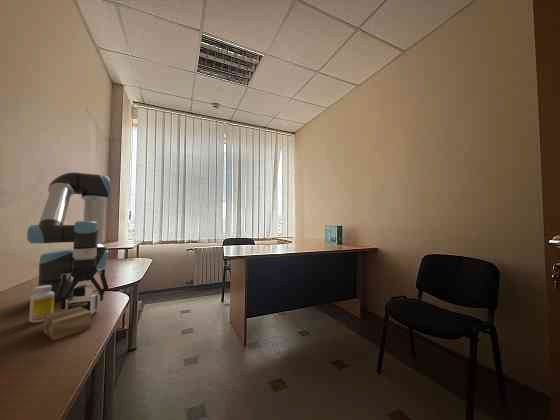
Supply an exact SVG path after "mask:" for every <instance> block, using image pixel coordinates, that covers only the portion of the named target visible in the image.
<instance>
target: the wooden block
mask: <svg viewBox="0 0 560 420" xmlns="http://www.w3.org/2000/svg"><path fill="white" fill-rule="evenodd" d="M91 326H92V315H91V312H90V311H88V310H87V309H85V308H83V307H81V306H79V307H75V308H71V309H68V310H64V309H63V310H60V311H57V312H54V313H52V314H48V315H44V321H43V333H44V334H45V335H46V336H48V337H49V338H50V339H51V340H52V341H55V340H58V339H61V338H64V337H68V336H70V335H73V334H74V335H75V334H77V333H80V332H82V331H86V330H88V329H91V328H92V327H91Z"/></svg>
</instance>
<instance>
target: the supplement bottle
mask: <svg viewBox="0 0 560 420" xmlns="http://www.w3.org/2000/svg"><path fill="white" fill-rule="evenodd" d="M37 286H38V285H37ZM37 286H36V287H34V289H33V291H34V292H35V294H34V293H33V294H32V295H31V296H30V297H29V299H30V300H29V318H28V322H29V323H33V324H34V323H43V322H44V315H48V314H52V313H55V310H54V309H55V301H54V292H52V291H50V290H51V285H43V286H38V287H37Z"/></svg>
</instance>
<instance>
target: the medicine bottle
mask: <svg viewBox="0 0 560 420" xmlns="http://www.w3.org/2000/svg"><path fill="white" fill-rule="evenodd" d="M93 292H94V285H91V284H83V285H79V286H75V287H74V294H73V296H72V299H71V300H69V301H68V309H71V308H75V307H79V306H81V307H83V308H85V309H87V310H88V311H90V312H91V316H92V315H93V314H94V313H96V311H97V309H96V294H94V293H93Z"/></svg>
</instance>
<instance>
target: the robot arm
mask: <svg viewBox="0 0 560 420" xmlns="http://www.w3.org/2000/svg"><path fill="white" fill-rule="evenodd" d="M111 187H112V186H111V180H110V177H109V176H108V175H102V174H94V173H84V172H75V171H72V172H67V173H64V174H61V175H59V176H57V177H55V178H54V179H53V180H52V181H51V182H50V183H49V185H48V188H47V191H48V197H47V200H46V202H45V205H44V208H43V211H42V213H41V216H40V219H39V222H38V224H33V225H30V226H28V228H27V232H26V238H27V242H28V243H30V244H58V243H59V244H60V243H61V244H62V243H73V247H72V248H68V249H67V248H66V249H59V250H53V251H48V252H45V253H42V254H41V256H40V257H39V263H38V268H39V269H38V284H37V286H36V287H38V286H43V285H51V290H50V291H52V292H54V302H60V309H61V311H64V310H68V302H69V300H68V299H69V298H73V294H74V288H76V287H77V285H78V283H81V282H85V281H88V282H89V281H90V283H92V286H93V287H94V288H95V289H96V290H97V293H95V295H96V311H100V309H101V302H102V301H103V300H104V294H105V292H108V291H109V285H108V282H107V277H106V275H105V274H106V266H107V263H108V258H109V253H110V251H109V249H107V246H106V245H104V225H105V223H104V220H105V204H106V201H107V200H108V199H109V197H111V196H112V189H111ZM74 195H81V199H82V200H84V210H83V220H77V221H75V222H74V224H65V220H66V216H67V211H68V208H69V205H70V204H69V203H70V199H71V197H73V196H74ZM96 274H98V275H99V278H100V281H101V284H102V287H101V285H100V284H99V283H98V281H97V280H96V278H95V275H96ZM72 278H73V279H72ZM33 294H35V291H34V292H33Z"/></svg>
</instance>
